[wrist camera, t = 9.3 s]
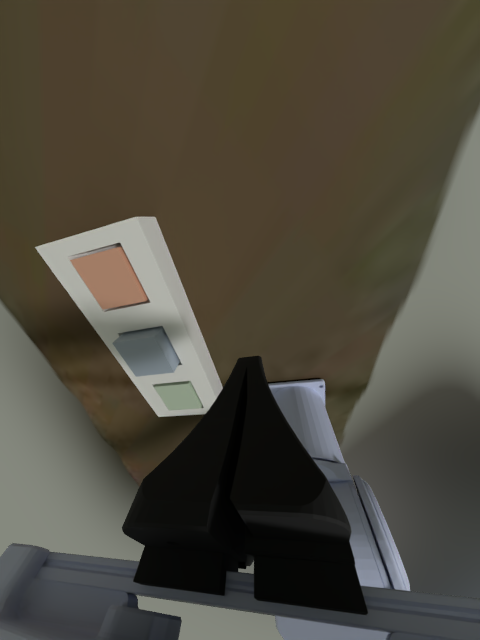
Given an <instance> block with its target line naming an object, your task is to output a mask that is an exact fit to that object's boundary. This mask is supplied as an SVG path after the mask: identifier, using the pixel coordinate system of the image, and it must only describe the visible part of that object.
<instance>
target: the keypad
mask: <svg viewBox="0 0 480 640" xmlns="http://www.w3.org/2000/svg"><path fill="white" fill-rule="evenodd" d="M117 247H123V249H124V251H125V253H126V255H127V257H128V259H129V261H130V263H131V265H132V267H133V269H134V271H135V273H136V275H137V277H138V279H139V281H140V283H141V285H142V287H143V289H144V291H145V293H146V295H147V297H148V298H149V299H148V300H146V301H144V302H139V303H134V304H129V305H124V306H119V307H114V308H109V309H104V310H102V308H101V306H100V305H99V303H98V302H97V300H96V299H95V297H94V296H93V294H92V293H91V291H90V290H89V288H88V287H87V285H86V284H85V282H84V281H83V279H82V278H81V276H80V275H79V273H78V272H77V270H76V269H75V267H74V266H73V264H72V263H71V261H70V260H72V259H76V258H80V257H84V256H87V255H91V254H95V253H98V252H102V251H106V250H109V249H113V248H117ZM35 248H36V249H37V251H38V252H39V254H40V255H41V256H42V258H43V259H44V260H45V262H46V263H47V265H48V266H49V267H50V269H51V270H52V271H53V273H54V274H55V276H56V277H57V278H58V280H59V281H60V282H61V284H62V285H63V287H64V288H65V289H66V291H67V292H68V293H69V295H70V296H71V298H72V299H73V300H74V302H75V303H76V304H77V306H78V307H79V308H80V310H81V311H82V313H83V314H84V315H85V317H86V318H87V319H88V321H89V322H90V324H91V325H92V326H93V328H94V329H95V330H96V332H97V333H98V335H99V336H100V337H101V339H102V340H103V341H104V343H105V344H106V346H107V347H108V348H109V350H110V351H111V352H112V354H113V355H114V357H115V358H116V359H117V361H118V362H119V363H120V365H121V366H122V368H123V369H124V370H125V372H126V373H127V374H128V376H129V377H130V378H131V380H132V381H133V383H134V384H135V385H136V387H137V388H138V389H139V391H140V392H141V394H142V395H143V396H144V398H145V399H146V400H147V402H148V403H149V405H150V406H151V407H152V409H153V410H154V411H155V413H156V414H157V416H158V417H165V416H182V415H198V414H206V413H207V411H208V410H209V409H210V407H211V406H212V404H213V403H214V401H215V400H216V398H217V397H218V395H219V394H220V392H221V390H222V389H223V387H222V384H221V382H220V379H219V377H218V374H217V372H216V369H215V366H214V364H213V361H212V359H211V356H210V354H209V351H208V349H207V346H206V344H205V341H204V339H203V336H202V334H201V331H200V329H199V326H198V324H197V321H196V319H195V316H194V313H193V311H192V308H191V306H190V303H189V301H188V298H187V296H186V293H185V291H184V288H183V286H182V283H181V281H180V278H179V276H178V273H177V271H176V268H175V266H174V263H173V260H172V258H171V255H170V253H169V250H168V248H167V245H166V243H165V240H164V238H163V235H162V233H161V230H160V228H159V225H158V223H157V220H156V218H155V217H134V218H131V219H127V220H124V221H121V222H117V223H114V224H111V225H107V226H104V227H101V228H97V229H94V230H91V231H87V232H84V233H81V234H77V235H74V236H71V237H67V238H64V239H61V240H57V241H54V242H51V243H47V244H44V245H41V246H38V247H35ZM159 326H163V328H164V330H165V332H166V334H167V336H168V338H169V340H170V342H171V344H172V346H173V348H174V350H175V352H176V354H177V355H178V357H179V359H180V362H179V364H178V366H177V368H176V370H175V372H174V373H165V374H156V375H147V376H138V377H136V376H135V375H134V373H133V372H132V371H131V369H130V368H129V366H128V365H127V363H126V362H125V361H124V359H123V358H122V356H121V355H120V354H119V352H118V351H117V349H116V348H115V346H114V345H113V344H112V343H113V342H114V341H115V340H116V339H117V338H119V337H120V336H121V335H122V334H123V333H124V332H128V331H135V330H141V329H147V328H153V327H159ZM182 381H191V383H192V385H193V387H194V389H195V391H196V393H197V395H198V397H199V399H200V401H201V403H202V407H201V408H197V409H182V410H169V409H168V408H167V406H166V405H165V403H164V402H163V400H162V399H161V397H160V396H159V394H158V393H157V391H156V389H155V388H154V386H155V385H156V384H162V383H172V382H182Z"/></svg>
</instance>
